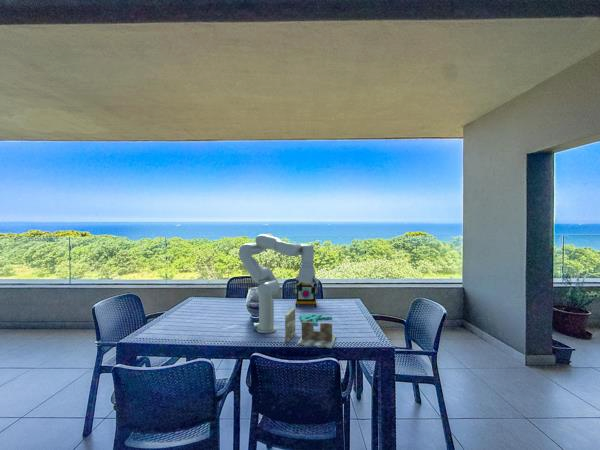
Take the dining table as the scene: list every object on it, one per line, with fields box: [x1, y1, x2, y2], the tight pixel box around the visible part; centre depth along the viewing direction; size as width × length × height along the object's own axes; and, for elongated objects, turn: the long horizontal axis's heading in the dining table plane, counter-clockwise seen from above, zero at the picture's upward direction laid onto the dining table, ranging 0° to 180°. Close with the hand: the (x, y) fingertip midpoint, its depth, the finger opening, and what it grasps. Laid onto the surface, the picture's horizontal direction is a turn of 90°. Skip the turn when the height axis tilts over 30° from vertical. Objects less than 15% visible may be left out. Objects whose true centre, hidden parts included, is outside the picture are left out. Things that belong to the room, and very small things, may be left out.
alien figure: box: [298, 313, 333, 327], centre depth 235 cm, size 20×2×20 cm
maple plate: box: [284, 307, 296, 343], centre depth 198 cm, size 2×16×16 cm, turn 166°
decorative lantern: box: [293, 281, 318, 309], centre depth 277 cm, size 20×20×30 cm
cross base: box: [296, 321, 337, 349], centre depth 192 cm, size 20×18×11 cm
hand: (306, 292), depth 199 cm, fingers open, 9 cm apart
